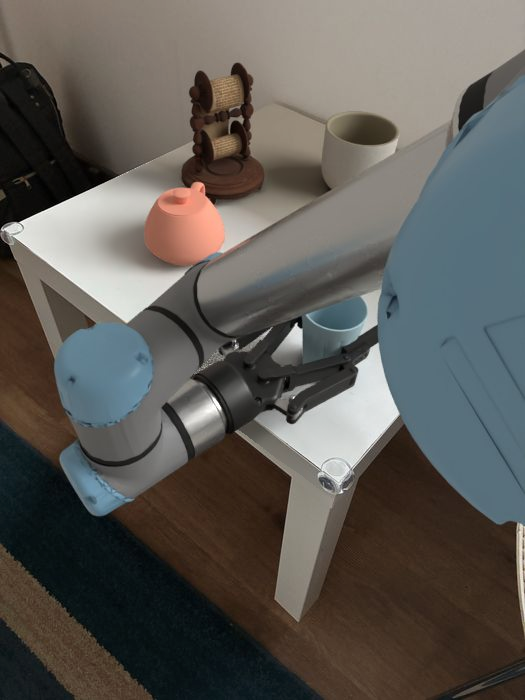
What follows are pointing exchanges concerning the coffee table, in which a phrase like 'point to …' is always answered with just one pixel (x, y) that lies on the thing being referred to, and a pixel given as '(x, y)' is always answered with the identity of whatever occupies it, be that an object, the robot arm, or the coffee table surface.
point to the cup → (332, 328)
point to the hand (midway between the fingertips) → (358, 314)
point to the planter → (355, 144)
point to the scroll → (222, 137)
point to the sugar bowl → (184, 226)
